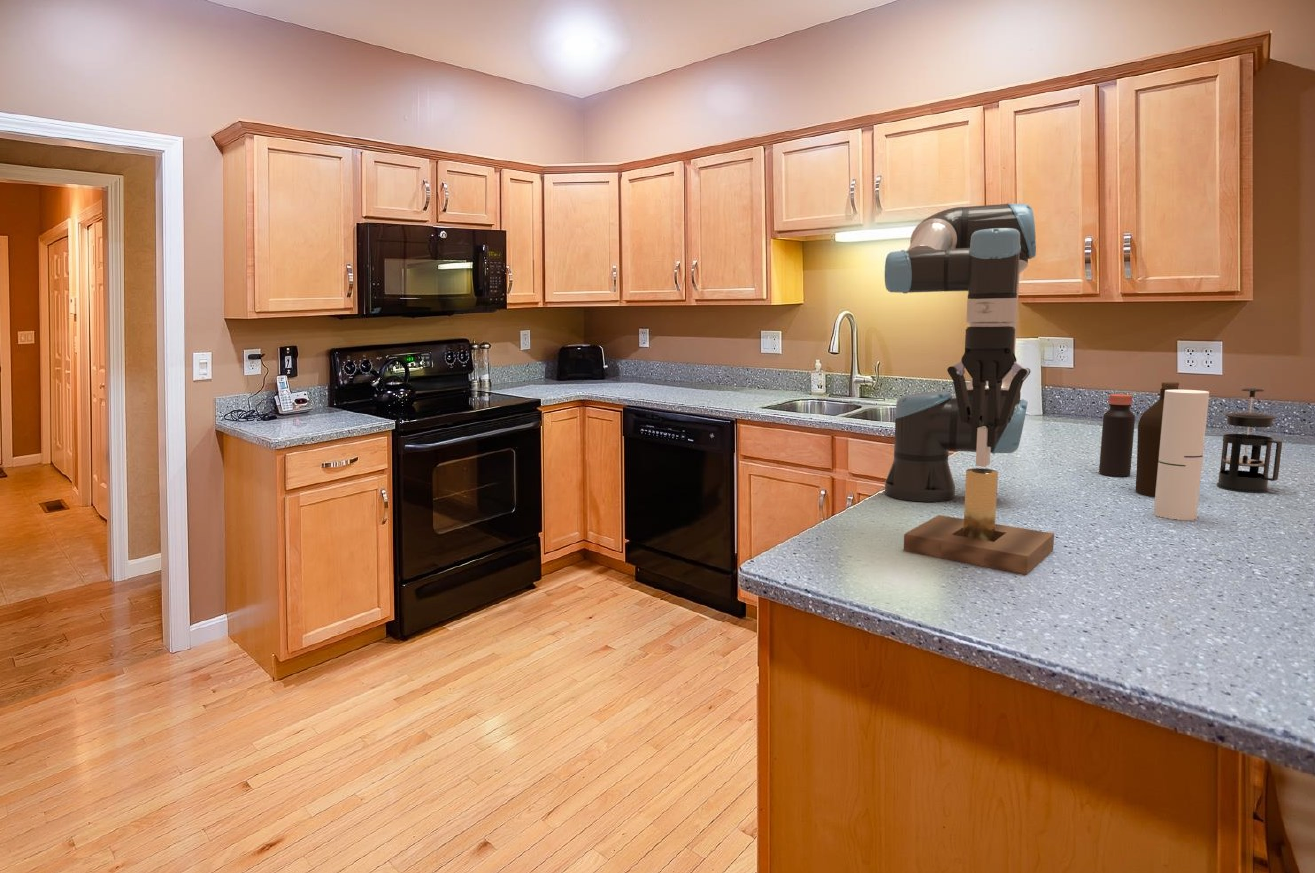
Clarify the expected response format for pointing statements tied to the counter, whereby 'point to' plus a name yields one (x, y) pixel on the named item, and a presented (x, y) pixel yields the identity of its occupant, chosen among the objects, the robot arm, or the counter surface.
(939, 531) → the walnut jig plate
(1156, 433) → the olive oil
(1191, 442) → the cylindrical container
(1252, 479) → the french press
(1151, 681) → the counter surface
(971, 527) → the brass bushing
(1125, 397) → the bottle
